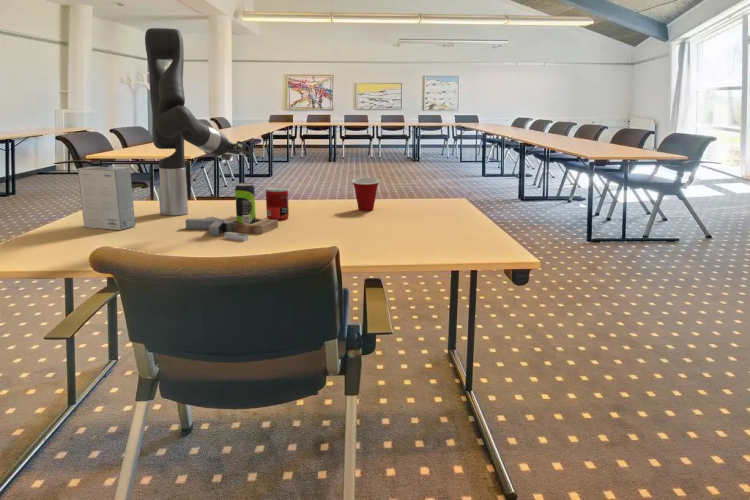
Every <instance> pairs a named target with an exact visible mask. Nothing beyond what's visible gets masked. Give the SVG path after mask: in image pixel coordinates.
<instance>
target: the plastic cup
mask: <svg viewBox="0 0 750 500" xmlns="http://www.w3.org/2000/svg"><path fill="white" fill-rule="evenodd" d="M351 182H352V185H353V187H354V192H355V200H356V203H357V209H358V210H359V211H361V212H371V211H373V210H374V207H375V202H376V196H377V195H376V194H377V189H378V186H379V183H380V182H381V181H380V179H378V178H375V177H357V178H353V179H352V180H351Z"/></svg>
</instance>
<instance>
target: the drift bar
mask: <svg viewBox="0 0 750 500" xmlns="http://www.w3.org/2000/svg"><path fill="white" fill-rule="evenodd" d="M223 235H224V239H226V238H227V240H232V241H238V242H247V241H249V234H246V233H241V232H234V231H232V232H223Z"/></svg>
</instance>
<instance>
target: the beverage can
mask: <svg viewBox="0 0 750 500" xmlns="http://www.w3.org/2000/svg"><path fill="white" fill-rule="evenodd" d="M234 191H235V194H234V195H235V212H236V215H235V217H237V223H241V224H253V223H256V218H257V216H256V198H255V196H256V195H255V185H254V183H252V182H238V183H236V184H235V188H234Z"/></svg>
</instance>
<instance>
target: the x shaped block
mask: <svg viewBox="0 0 750 500" xmlns="http://www.w3.org/2000/svg"><path fill="white" fill-rule="evenodd" d="M224 219H225V218H219V217H214V216H210V217H209V216H207V217H204V218H186V219H185V230H208V232H209V233H208V234H209V235H208V236H209V237H219V236H220V235H221V234H222V233H226V232H234V231H233V224H234V222H232V221H228V220H224Z"/></svg>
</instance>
